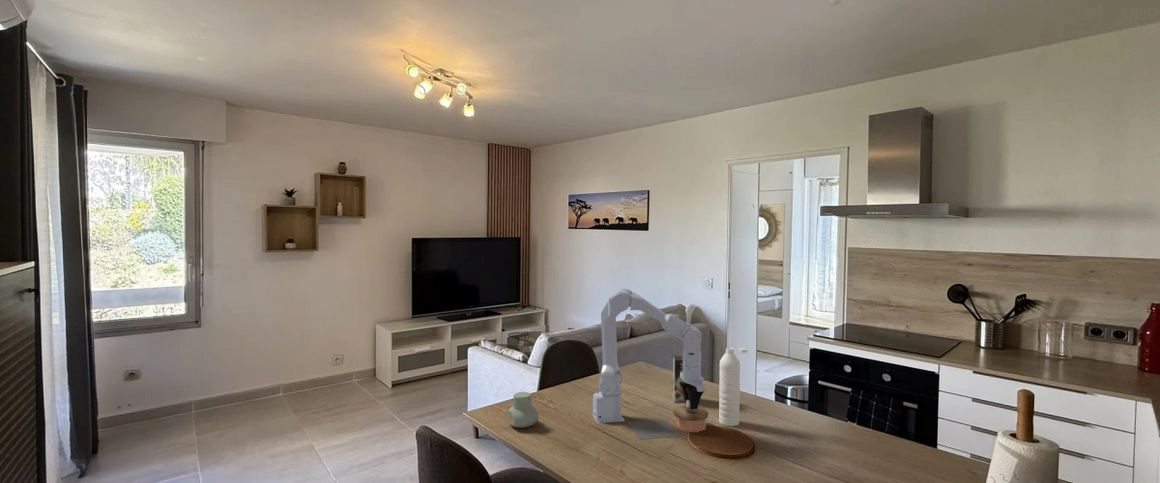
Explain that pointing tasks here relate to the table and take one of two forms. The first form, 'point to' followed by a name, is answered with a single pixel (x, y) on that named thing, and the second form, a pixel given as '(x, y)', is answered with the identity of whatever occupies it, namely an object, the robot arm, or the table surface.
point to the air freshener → (522, 411)
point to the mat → (653, 429)
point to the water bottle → (729, 388)
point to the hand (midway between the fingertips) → (691, 406)
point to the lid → (690, 412)
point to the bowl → (691, 425)
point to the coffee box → (677, 379)
